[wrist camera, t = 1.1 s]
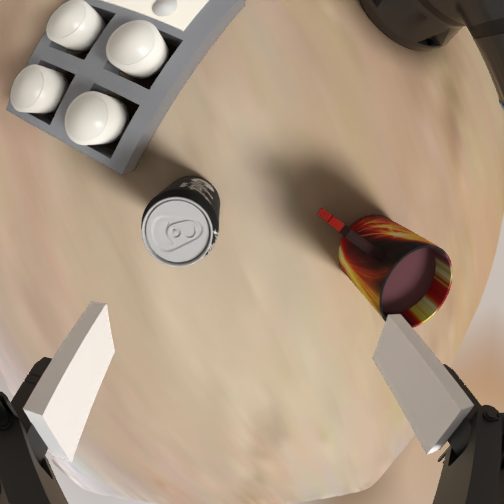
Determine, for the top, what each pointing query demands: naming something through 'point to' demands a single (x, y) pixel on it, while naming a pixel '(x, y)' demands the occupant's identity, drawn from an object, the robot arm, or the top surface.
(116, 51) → the button
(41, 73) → the button
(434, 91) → the top surface
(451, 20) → the robot arm
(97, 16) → the button
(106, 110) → the button
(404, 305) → the mug
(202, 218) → the beverage can
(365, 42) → the top surface
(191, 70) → the board
